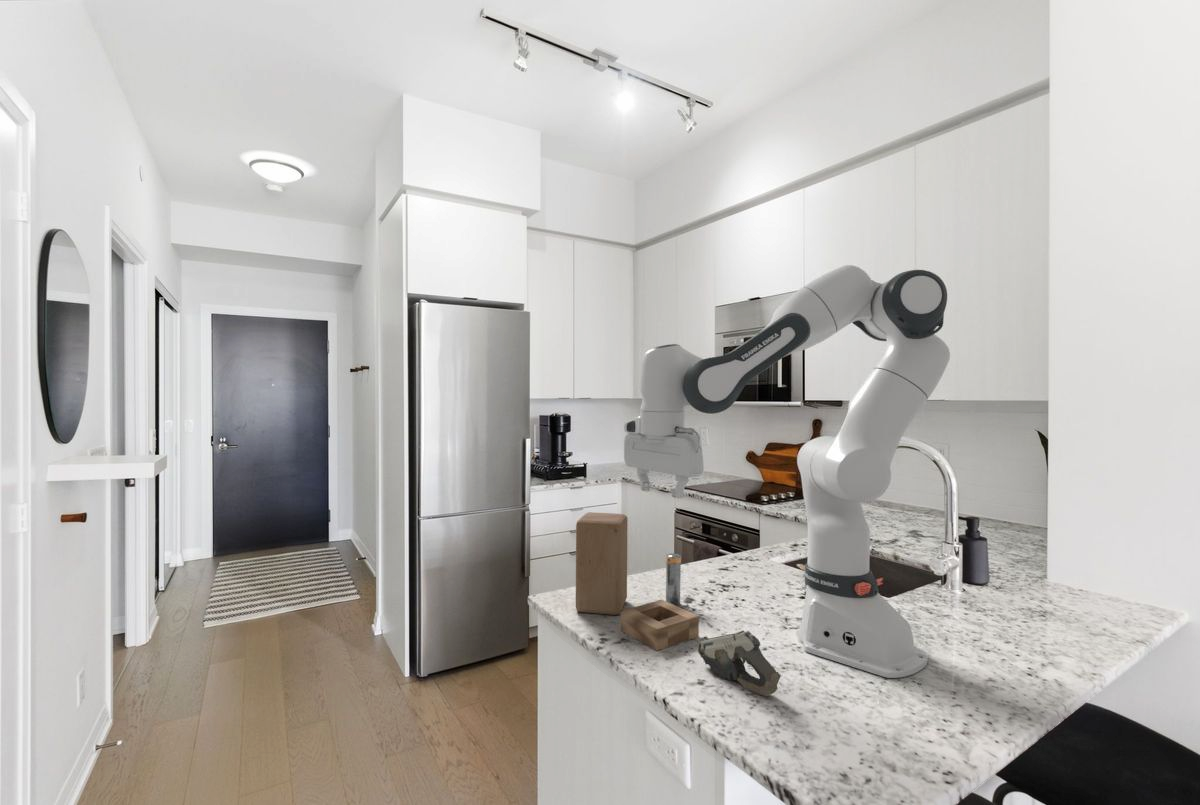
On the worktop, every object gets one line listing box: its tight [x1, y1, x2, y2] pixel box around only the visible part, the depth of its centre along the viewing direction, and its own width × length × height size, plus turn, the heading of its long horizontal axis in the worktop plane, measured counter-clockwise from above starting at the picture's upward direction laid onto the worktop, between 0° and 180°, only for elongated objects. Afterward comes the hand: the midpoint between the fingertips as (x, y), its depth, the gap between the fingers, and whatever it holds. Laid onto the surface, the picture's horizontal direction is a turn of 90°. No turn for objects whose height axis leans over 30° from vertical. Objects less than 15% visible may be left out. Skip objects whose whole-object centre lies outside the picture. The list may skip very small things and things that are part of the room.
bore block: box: [620, 599, 700, 651], centre depth 114 cm, size 11×11×4 cm
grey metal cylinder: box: [665, 553, 682, 607], centre depth 130 cm, size 3×3×11 cm
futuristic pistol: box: [697, 630, 781, 697], centre depth 96 cm, size 2×15×10 cm, turn 38°
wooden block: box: [575, 511, 629, 616], centre depth 128 cm, size 10×10×20 cm
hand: (661, 494), depth 116 cm, fingers open, 8 cm apart
